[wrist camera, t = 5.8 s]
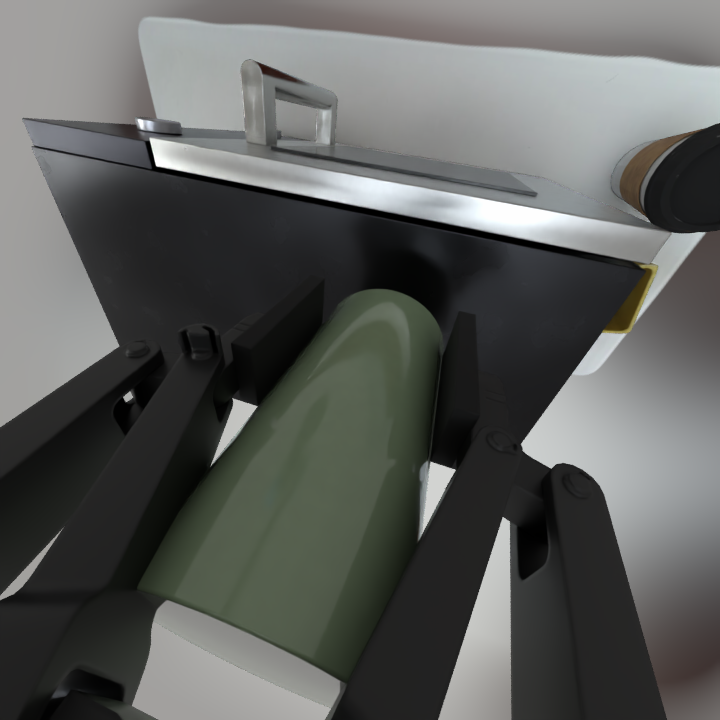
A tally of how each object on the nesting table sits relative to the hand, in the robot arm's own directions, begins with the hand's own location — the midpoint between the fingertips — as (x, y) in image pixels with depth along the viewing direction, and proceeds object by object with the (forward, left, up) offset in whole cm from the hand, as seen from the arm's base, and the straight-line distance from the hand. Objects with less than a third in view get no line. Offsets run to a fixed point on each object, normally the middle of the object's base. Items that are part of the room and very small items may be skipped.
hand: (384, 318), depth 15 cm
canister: (+2, -1, -1) cm, 3 cm away
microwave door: (-8, 0, -36) cm, 37 cm away
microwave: (+2, -9, -36) cm, 38 cm away
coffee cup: (0, +23, -36) cm, 43 cm away
